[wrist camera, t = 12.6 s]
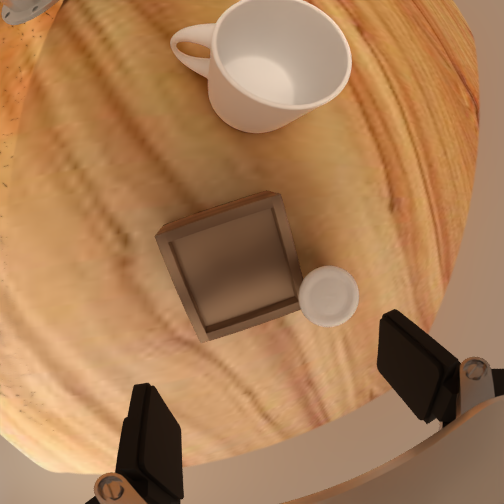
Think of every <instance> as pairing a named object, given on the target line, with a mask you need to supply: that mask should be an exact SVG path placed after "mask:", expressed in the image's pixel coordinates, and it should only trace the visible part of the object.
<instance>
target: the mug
mask: <svg viewBox="0 0 504 504" xmlns="http://www.w3.org/2000/svg"><path fill="white" fill-rule="evenodd" d="M178 42H192V43H196V44H200V45H203V46H205V47H207V48H209V49H210V58H198V57H192V56H189V55H186V54H184V53H182V52H180V51H179V50H178V49H177V47H176V44H177V43H178ZM170 46H171V49H172V51H173V53H174V54H175V56H176V57H177V58H178V59H179V60H180V61H181V62H182V63H183V64H184V65H186V66H187V67H188V68H190V69H191V70H193V71H195V72H196V73H198V74H200V75H202V76H204V77H206V78H207V79H208V95H209V100H210V103H211V105H212V107H213V109H214V111H215V112H216V114H217V115H218V116H219V117H220V118H221V119H222V120H223V121H224V122H225V123H227V124H228V125H230V126H231V127H233V128H235V129H238V130H241V131H244V132H249V133H266V132H271V131H274V130H277V129H279V128H281V127H283V126H285V125H287V124H289V123H290V122H292V121H294V120H296V119H297V118H299V117H301V116H303V115H305V114H307V113H308V112H310V111H312V110H314V109H316V108H318V107H320V106H322V105H324V104H326V103H327V102H329V101H331V100H332V99H334V98H335V97H336V96H337V95H338V94H339V93H340V92H341V91H342V90H343V89H344V87H345V85H346V84H347V82H348V79H349V77H350V73H351V66H352V59H351V52H350V47H349V45H348V42H347V40H346V38H345V36H344V34H343V32H342V31H341V29H340V28H339V27H338V25H337V24H336V23H335V22H334V21H333V20H332V19H331V18H330V17H329V16H328V15H327V14H325V13H324V12H323V11H322V10H320V9H318V8H317V7H315V6H314V5H312V4H310V3H308V2H305V1H303V0H241V1H239V2H237V3H235V4H234V5H232V6H231V7H229V8H228V9H227V10H226V11H225V12H224V13H223V14H222V15H221V16H220V18H219V19H218V20H217V22H216V23H212V24H200V25H194V26H190V27H186V28H184V29H181V30H179V31H178V32H177V33H175V34H174V35H173V37H172V38H171V41H170Z"/></svg>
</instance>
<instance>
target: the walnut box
mask: <svg viewBox="0 0 504 504" xmlns="http://www.w3.org/2000/svg"><path fill="white" fill-rule="evenodd" d="M155 238H156V241H157V244H158V246H159V249H160V251H161V254H162V256H163V259H164V261H165V264H166V266H167V269H168V271H169V274H170V276H171V278H172V281H173V283H174V286H175V288H176V290H177V293H178V295H179V297H180V299H181V302H182V304H183V306H184V308H185V311H186V313H187V315H188V317H189V319H190V322H191V324H192V326H193V328H194V330H195V332H196V334H197V336H198V339H199V341H200V343H204V342H207V341H211V340H214V339H217V338H220V337H223V336H226V335H229V334H233V333H236V332H239V331H242V330H245V329H248V328H251V327H253V326H256V325H259V324H262V323H265V322H268V321H271V320H273V319H276V318H279V317H282V316H284V315H287V314H290V313H293V312H295V311H298V310H300V309H301V308H300V305H299V300H298V295H299V288H300V286H301V283H302V281H303V277H302V273H301V269H300V265H299V261H298V257H297V253H296V249H295V245H294V241H293V237H292V234H291V230H290V226H289V222H288V219H287V215H286V211H285V208H284V204H283V200H282V197H281V194H278V193H274V192H270V191H264V192H260V193H257V194H254V195H251V196H248V197H244V198H241V199H238V200H235V201H232V202H229V203H226V204H223V205H220V206H217V207H214V208H211V209H208V210H205V211H202V212H199V213H196V214H193V215H191V216H188V217H185V218H182V219H179V220H176V221H174V222H171V223H168V224H165V225H163V227H162V228H161V229H160V230H159V232H158V233H157V234H156V235H155Z"/></svg>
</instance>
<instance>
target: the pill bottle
mask: <svg viewBox="0 0 504 504" xmlns="http://www.w3.org/2000/svg"><path fill="white" fill-rule="evenodd" d="M298 300H299V305H300V308H301V310H302V312H303V314H304V316H305V317H306V318H307V319H308V320H309V321H311V322H312V323H314V324H316V325H318V326H322V327H335V326H338V325H341V324H343V323H344V322H346V321H347V320H348V319H350V317H351V316H352V315H353V314H354V312H355V310H356V308H357V306H358V302H359V290H358V286H357V283H356V281H355V279H354V278H353V277H352V275H351V274H350V273H348V272H347V271H346V270H344V269H342V268H340V267H337V266H331V265H330V266H322V267H319V268H316V269H314V270H313V271H311V272H310V273H309V274H308V275H307V276H306V277H305V278H304V280H303V281H302V283H301V286H300V288H299V295H298Z"/></svg>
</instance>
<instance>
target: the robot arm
mask: <svg viewBox="0 0 504 504" xmlns="http://www.w3.org/2000/svg"><path fill="white" fill-rule="evenodd" d="M58 1H59V0H0V2H2V3H3V4H4V5H3V8H2V19H3V20H4V21H5V22H6V23H8V24H10V25H18V24H22V23H25V22H27V21H29V20H31V19H33V18H35V17H37V16H38V15H40V14H42V13H43V12H45V11H46V10H48V9H49V8H50V7H52V6H53V5H54V4H55V3H57V2H58ZM377 368H378V370H379V372H380V373H381V375H382V376H383V377H384V378H385V379H386V380H387V382H388V383H389V384H390V385H391V386H392V388H393V389H394V390H395V391H396V392H397V394H398V395H399V396H400V397H401V398H402V399H403V401H404V402H405V403H406V404H407V405H408V407H409V408H410V409H411V410H412V412H413V413H414V414H415V415H416V416H417V418H418V419H420V420H424V421H425V422H426V424H428V423H430V422H431V421H433V420H434V419H435V418H437V419H438V420H439V421H440V424H439V431H438V432H437V433H435V434H434V435H432V436H431V437H429V438H428V439H426V440H424V441H423V442H421V443H420V444H418V445H417V446H415V447H413V448H412V449H410V450H408V451H406V452H405V453H403V454H401V455H399V456H398V457H396V458H394V459H393V460H390V461H388V462H387V463H385V464H383V465H381V466H379V467H377V468H375V469H373V470H371V471H369V472H366V473H364V474H362V475H360V476H358V477H355V478H353V479H351V480H349V481H346V482H344V483H341V484H339V485H336V486H333V487H331V488H328V489H325V490H323V491H320V492H317V493H314V494H311V495H308V496H305V497H302V498H299V499H295V500H291V501H288V502H285V503H281V504H504V369H491V368H490V365H489V364H488V362H487V361H486V360H484V359H483V358H480V357H470V358H467V359H465V360H464V361H463V362H462V363H460V362H459V361H458V359H457V358H456V357H454V356H453V355H452V354H451V353H450V352H449V351H447V350H446V349H445V348H444V347H443V346H441V345H440V344H439V343H438V342H436V341H435V340H434V339H433V338H432V337H430V336H429V335H428V334H427V333H425V332H424V331H423V330H422V329H421V328H419V327H418V326H417V325H416V324H414V323H413V322H412V321H411V320H409V319H408V318H407V317H406V316H404V315H403V314H402V313H400V312H399V311H398V310H396V309H394V310H392V311H390V312H387V313H385V314H383V316H382V319H380V326H379V344H378V357H377ZM94 493H95V496H94V497H93V498H92V499H90V500H89V501H88V502H86V503H85V504H180V499H183V498H184V491H183V474H182V444H181V428H180V426H179V424H178V422H177V421H176V419H175V418H174V416H173V415H172V413H171V412H170V410H169V409H168V407H167V406H166V404H165V402H164V401H163V399H162V398H161V396H160V394H159V393H158V391H157V389H156V388H155V386H151V385H150V384H149V383H143V384H137V385H134V387H133V391H132V396H131V401H130V406H129V411H128V417H126V418H125V419H124V421H123V426H122V432H121V437H120V443H119V450H118V456H117V463H116V470H115V473H112V472H111V473H106V474H104V475H102V476H101V477H99V479H97V481H96V483H95V486H94Z"/></svg>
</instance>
